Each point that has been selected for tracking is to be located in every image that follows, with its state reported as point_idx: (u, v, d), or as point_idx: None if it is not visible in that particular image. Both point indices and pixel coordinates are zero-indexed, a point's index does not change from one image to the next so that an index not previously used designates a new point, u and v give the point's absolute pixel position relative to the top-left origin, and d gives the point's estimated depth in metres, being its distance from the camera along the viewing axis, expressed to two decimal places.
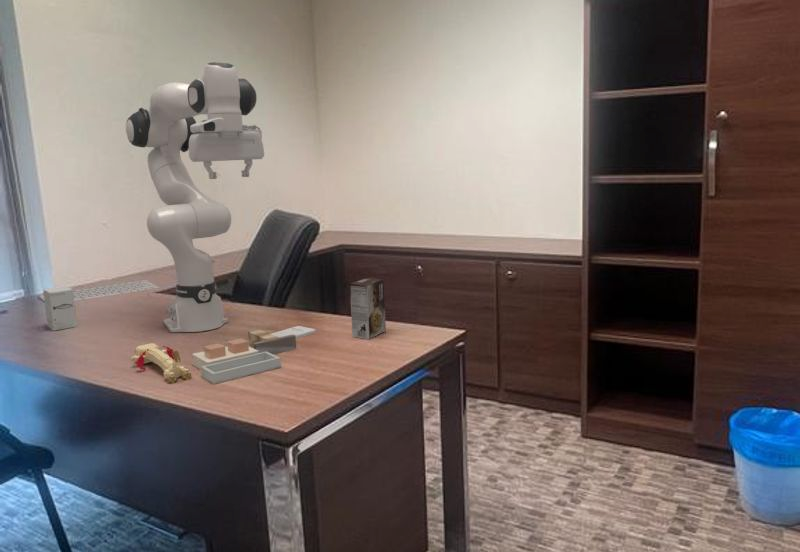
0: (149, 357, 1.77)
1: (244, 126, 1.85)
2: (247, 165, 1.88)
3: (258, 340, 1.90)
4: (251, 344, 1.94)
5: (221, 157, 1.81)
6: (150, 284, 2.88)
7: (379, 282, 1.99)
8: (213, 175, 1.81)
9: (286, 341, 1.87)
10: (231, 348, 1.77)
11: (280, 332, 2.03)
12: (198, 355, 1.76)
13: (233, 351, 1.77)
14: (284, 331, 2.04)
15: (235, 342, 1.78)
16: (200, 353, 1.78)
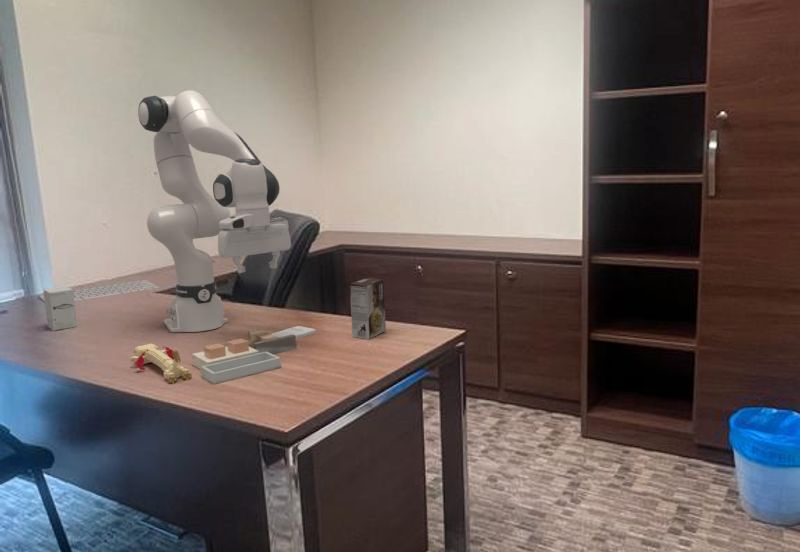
0: (148, 357, 1.76)
1: (271, 219, 1.87)
2: (274, 256, 1.89)
3: (258, 340, 1.90)
4: (251, 344, 1.94)
5: (250, 252, 1.82)
6: (150, 284, 2.88)
7: (379, 282, 1.99)
8: (242, 269, 1.82)
9: (286, 341, 1.87)
10: (231, 348, 1.77)
11: (280, 332, 2.03)
12: (198, 355, 1.76)
13: (233, 351, 1.77)
14: (284, 331, 2.04)
15: (235, 342, 1.78)
16: (200, 353, 1.78)
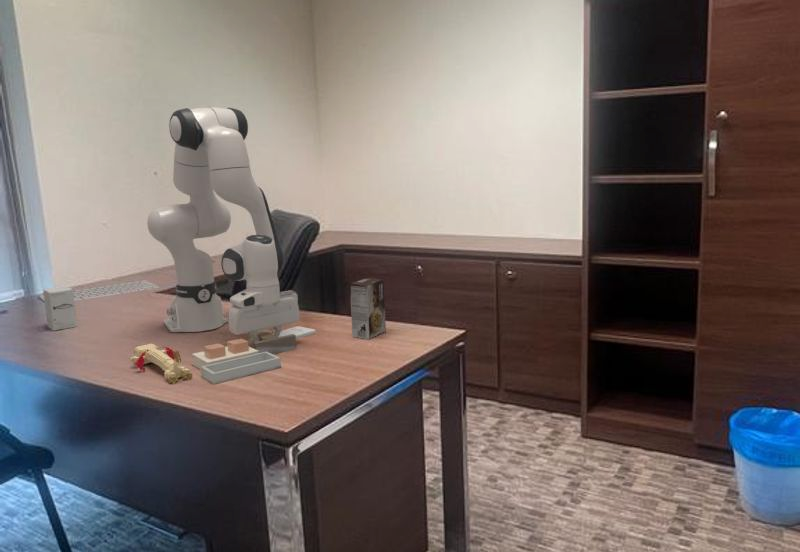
0: (149, 358, 1.76)
1: (281, 293, 1.90)
2: (276, 329, 1.91)
3: None
4: (251, 344, 1.94)
5: (260, 327, 1.86)
6: (150, 284, 2.88)
7: (379, 282, 1.99)
8: None
9: (286, 341, 1.87)
10: (231, 348, 1.77)
11: (280, 332, 2.03)
12: (198, 355, 1.76)
13: (233, 351, 1.77)
14: (284, 331, 2.04)
15: (235, 342, 1.78)
16: (200, 353, 1.78)
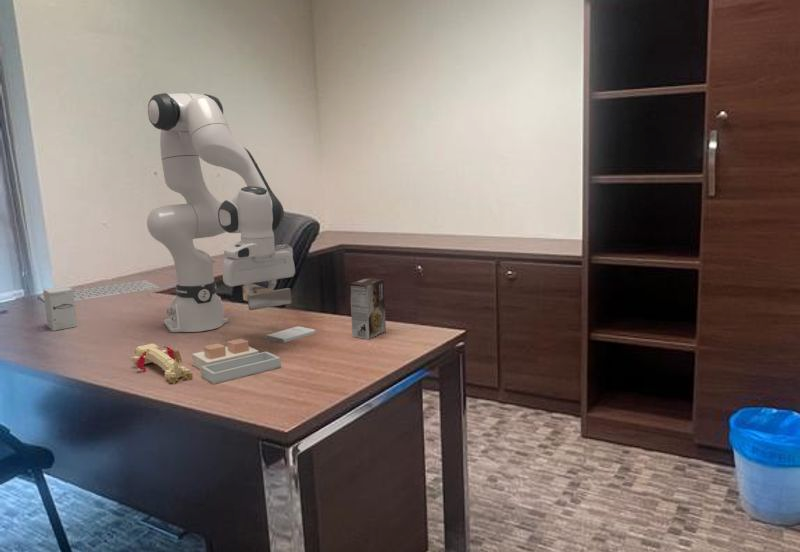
0: (149, 357, 1.76)
1: (276, 246, 1.88)
2: (271, 284, 1.89)
3: None
4: (245, 298, 1.91)
5: (254, 280, 1.83)
6: (150, 284, 2.88)
7: (379, 282, 1.99)
8: None
9: (281, 294, 1.85)
10: (231, 348, 1.77)
11: (280, 332, 2.03)
12: (198, 355, 1.76)
13: (233, 351, 1.77)
14: (284, 331, 2.04)
15: (235, 342, 1.78)
16: (200, 353, 1.78)
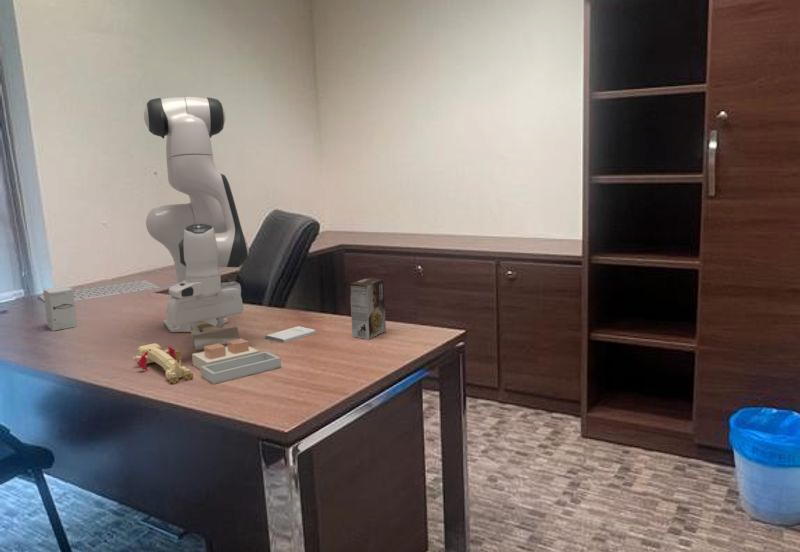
0: (151, 357, 1.76)
1: (223, 284, 1.86)
2: (218, 321, 1.87)
3: None
4: None
5: (200, 318, 1.82)
6: (150, 284, 2.88)
7: (379, 282, 1.99)
8: None
9: (227, 332, 1.83)
10: (231, 348, 1.77)
11: (280, 332, 2.03)
12: (198, 355, 1.76)
13: (233, 351, 1.77)
14: (284, 331, 2.04)
15: (235, 342, 1.78)
16: (200, 353, 1.78)
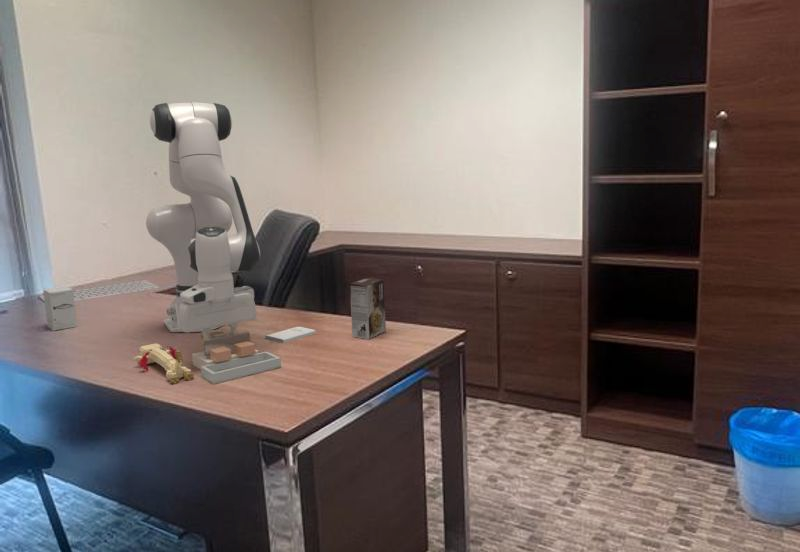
0: (152, 357, 1.76)
1: (236, 288, 1.80)
2: (231, 327, 1.81)
3: None
4: None
5: (212, 324, 1.75)
6: (150, 284, 2.88)
7: (379, 282, 1.99)
8: None
9: (239, 338, 1.77)
10: (238, 351, 1.75)
11: (280, 333, 2.02)
12: (198, 355, 1.76)
13: (240, 354, 1.74)
14: (284, 332, 2.03)
15: (242, 345, 1.75)
16: (200, 353, 1.78)
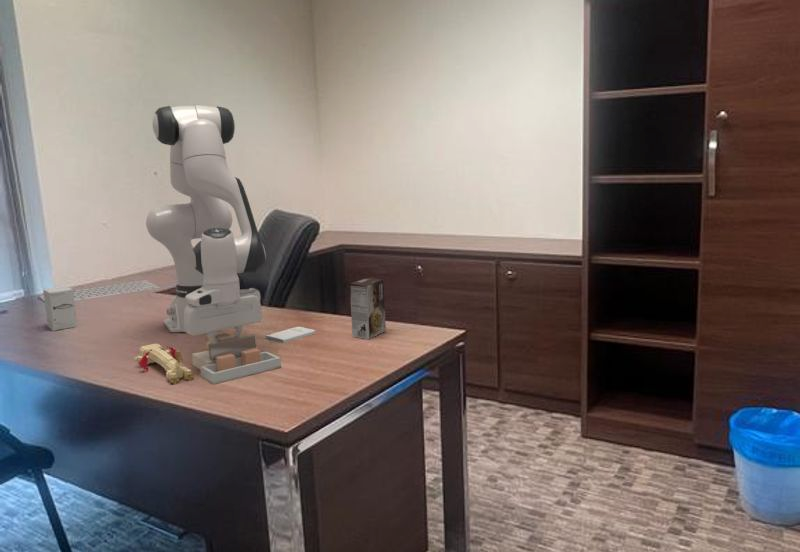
0: (152, 357, 1.76)
1: (242, 291, 1.77)
2: (237, 330, 1.78)
3: None
4: (209, 347, 1.82)
5: (218, 327, 1.73)
6: (150, 284, 2.88)
7: (379, 282, 1.99)
8: None
9: (245, 342, 1.75)
10: (243, 362, 1.73)
11: (280, 333, 2.02)
12: (198, 355, 1.76)
13: (242, 364, 1.74)
14: (284, 332, 2.03)
15: (250, 362, 1.73)
16: (200, 353, 1.78)
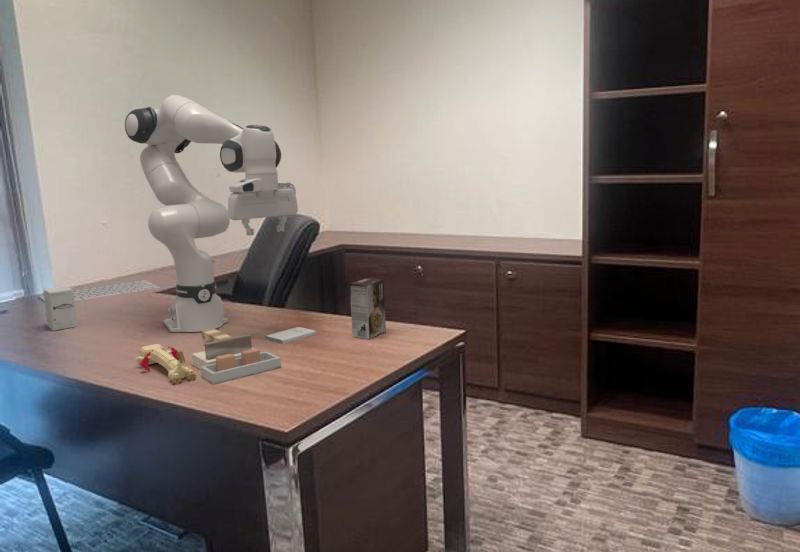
0: (154, 358, 1.76)
1: (279, 184, 1.95)
2: (281, 220, 1.97)
3: (212, 340, 1.80)
4: None
5: (258, 215, 1.90)
6: (150, 284, 2.88)
7: (379, 282, 1.99)
8: (251, 232, 1.90)
9: (241, 341, 1.77)
10: (243, 362, 1.73)
11: (279, 333, 2.02)
12: (198, 355, 1.76)
13: (242, 364, 1.74)
14: (284, 332, 2.03)
15: (250, 362, 1.73)
16: (200, 353, 1.78)
